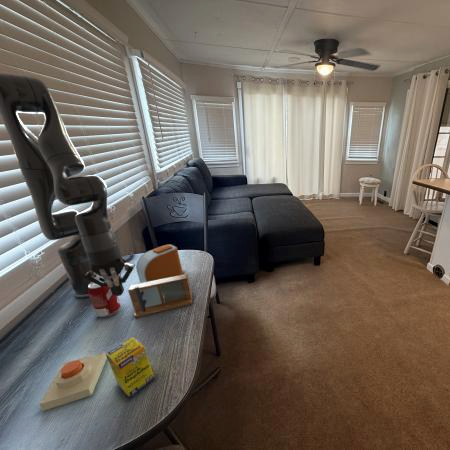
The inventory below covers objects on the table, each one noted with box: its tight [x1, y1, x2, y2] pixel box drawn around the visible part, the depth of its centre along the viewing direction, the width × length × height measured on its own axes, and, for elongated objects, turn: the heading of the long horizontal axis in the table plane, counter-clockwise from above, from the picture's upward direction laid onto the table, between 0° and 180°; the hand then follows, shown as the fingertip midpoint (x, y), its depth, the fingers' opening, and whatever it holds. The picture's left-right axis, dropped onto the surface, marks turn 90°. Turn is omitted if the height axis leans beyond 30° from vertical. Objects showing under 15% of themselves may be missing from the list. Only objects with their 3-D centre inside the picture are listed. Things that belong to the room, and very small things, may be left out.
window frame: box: [127, 273, 193, 318], centre depth 85 cm, size 6×18×10 cm, turn 112°
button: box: [60, 359, 83, 378], centre depth 59 cm, size 4×4×2 cm
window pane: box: [135, 286, 165, 312], centre depth 81 cm, size 5×7×11 cm
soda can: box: [88, 282, 121, 318], centre depth 82 cm, size 7×7×12 cm
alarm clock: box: [135, 243, 184, 283], centre depth 101 cm, size 15×8×14 cm, turn 144°
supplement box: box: [105, 336, 155, 399], centre depth 58 cm, size 6×6×11 cm
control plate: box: [39, 351, 108, 411], centre depth 59 cm, size 11×9×4 cm
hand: (119, 294), depth 76 cm, fingers closed
